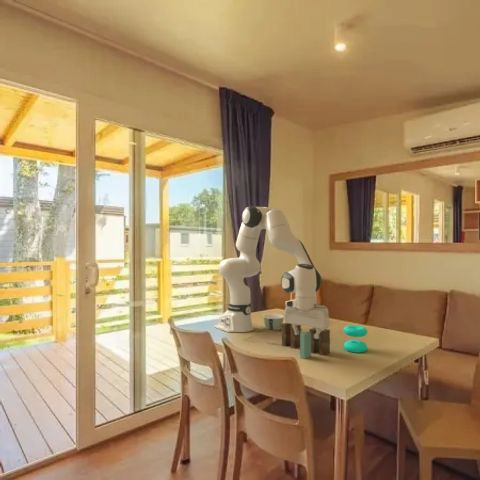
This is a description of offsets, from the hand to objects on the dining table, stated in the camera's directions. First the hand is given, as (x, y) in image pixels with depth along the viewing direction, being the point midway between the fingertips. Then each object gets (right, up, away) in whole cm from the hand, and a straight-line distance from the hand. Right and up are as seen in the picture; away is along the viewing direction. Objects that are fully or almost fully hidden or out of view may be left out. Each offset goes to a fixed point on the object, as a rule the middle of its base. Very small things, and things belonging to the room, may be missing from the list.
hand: (306, 336), depth 153 cm
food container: (-9, -9, +51) cm, 52 cm away
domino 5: (+8, -8, +4) cm, 13 cm away
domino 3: (0, -9, 0) cm, 9 cm away
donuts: (+23, -9, +9) cm, 27 cm away
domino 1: (-6, -9, +18) cm, 21 cm away
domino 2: (-2, -9, +15) cm, 17 cm away
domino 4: (+5, -8, +8) cm, 13 cm away
